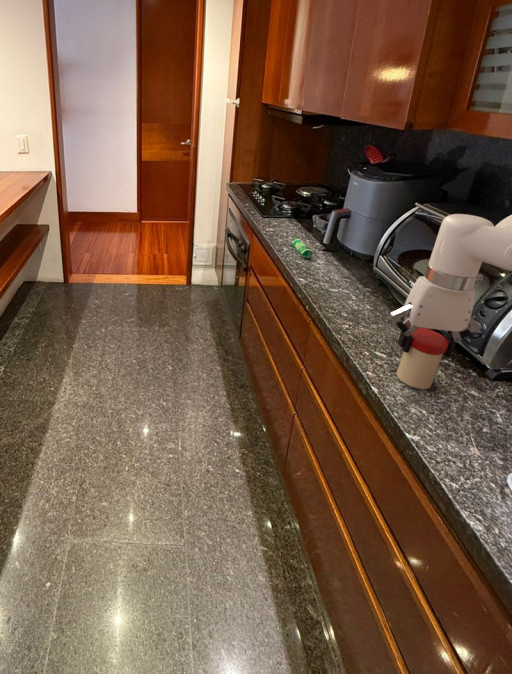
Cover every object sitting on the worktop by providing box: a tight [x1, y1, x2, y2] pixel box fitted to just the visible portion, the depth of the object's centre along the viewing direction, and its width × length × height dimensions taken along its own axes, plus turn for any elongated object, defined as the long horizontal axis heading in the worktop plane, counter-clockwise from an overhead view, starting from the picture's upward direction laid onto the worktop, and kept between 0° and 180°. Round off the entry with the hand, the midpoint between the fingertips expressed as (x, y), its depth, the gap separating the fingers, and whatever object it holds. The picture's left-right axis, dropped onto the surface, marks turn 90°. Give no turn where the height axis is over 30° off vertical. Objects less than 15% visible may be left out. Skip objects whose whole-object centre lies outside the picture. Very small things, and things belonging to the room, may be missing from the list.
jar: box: [396, 346, 444, 390], centre depth 83 cm, size 6×6×11 cm
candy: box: [290, 237, 313, 260], centre depth 148 cm, size 12×3×4 cm
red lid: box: [411, 328, 449, 355], centre depth 81 cm, size 7×7×2 cm
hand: (423, 350), depth 82 cm, fingers closed on red lid, 6 cm apart
